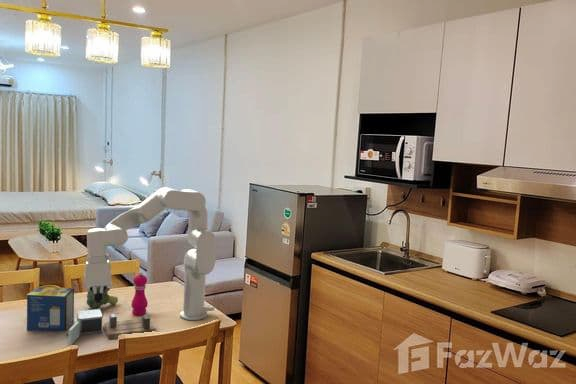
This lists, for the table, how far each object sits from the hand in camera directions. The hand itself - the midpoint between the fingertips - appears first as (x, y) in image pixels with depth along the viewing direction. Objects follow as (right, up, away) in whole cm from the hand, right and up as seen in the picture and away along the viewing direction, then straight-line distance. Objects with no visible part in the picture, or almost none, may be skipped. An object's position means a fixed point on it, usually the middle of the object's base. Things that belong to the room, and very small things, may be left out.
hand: (98, 301), depth 195 cm
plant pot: (-33, -9, +24) cm, 42 cm away
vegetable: (-11, -10, +31) cm, 34 cm away
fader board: (+11, -14, +6) cm, 18 cm away
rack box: (-6, -13, +4) cm, 15 cm away
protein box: (-22, -12, +5) cm, 26 cm away
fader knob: (+4, -11, +5) cm, 13 cm away
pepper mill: (+9, -12, +26) cm, 29 cm away
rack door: (-7, -14, -7) cm, 17 cm away
